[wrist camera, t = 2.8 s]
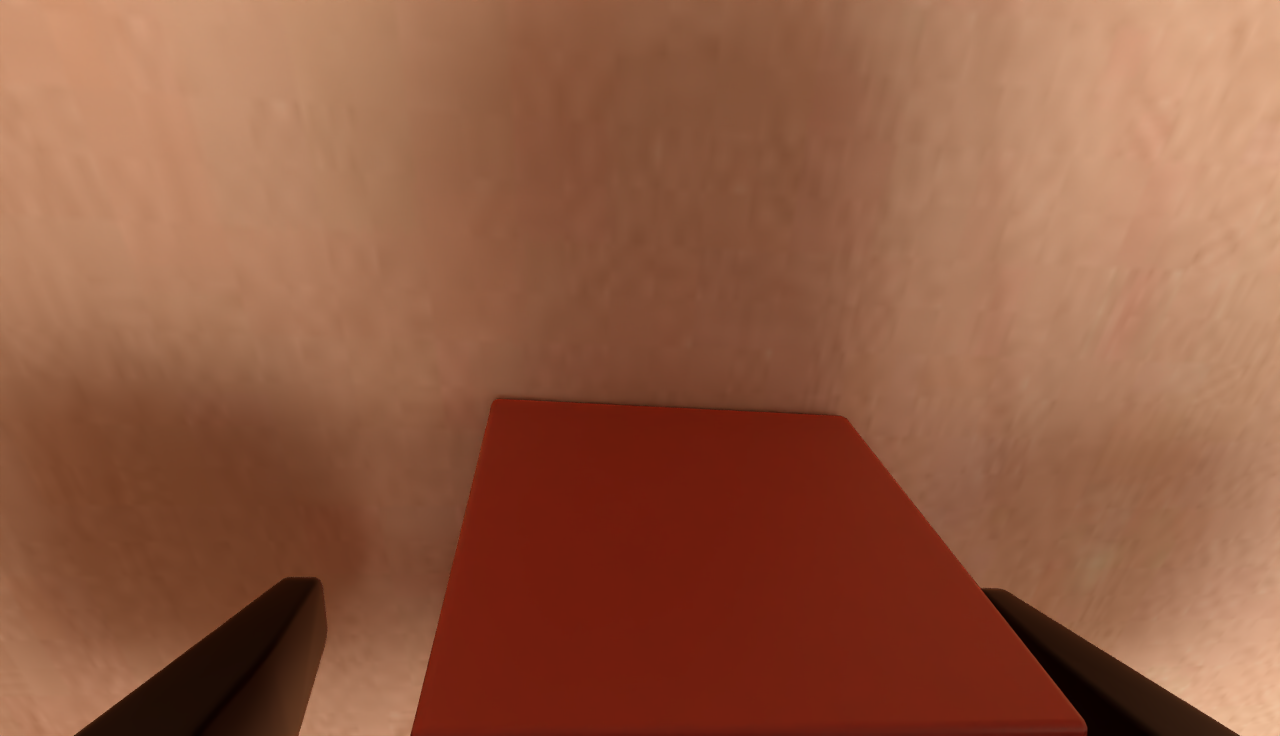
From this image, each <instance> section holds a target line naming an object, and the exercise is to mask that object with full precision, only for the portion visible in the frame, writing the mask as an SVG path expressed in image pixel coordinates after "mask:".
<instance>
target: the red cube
mask: <svg viewBox="0 0 1280 736" xmlns="http://www.w3.org/2000/svg"><path fill="white" fill-rule="evenodd" d="M411 736H1087V726H1086V723H1085V721H1084V719H1083V718H1082V717H1081V715H1080V714H1079V713H1078V712H1077V710H1076V709H1075V708H1074V706H1073V705H1072V704H1071V703H1070V701H1069V700H1068V699H1067V698H1066V696H1065V695H1064V694H1063V692H1062V691H1061V690H1060V689H1059V687H1058V686H1057V685H1056V684H1055V682H1054V681H1053V680H1052V679H1051V677H1050V676H1049V675H1048V673H1047V672H1046V671H1045V670H1044V668H1043V667H1042V666H1041V665H1040V663H1039V662H1038V661H1037V660H1036V658H1035V657H1034V656H1033V654H1032V653H1031V652H1030V651H1029V649H1028V648H1027V647H1026V646H1025V644H1024V643H1023V642H1022V640H1021V639H1020V638H1019V637H1018V635H1017V634H1016V633H1015V632H1014V630H1013V629H1012V628H1011V627H1010V625H1009V624H1008V623H1007V621H1006V620H1005V619H1004V618H1003V616H1002V615H1001V614H1000V613H999V611H998V610H997V609H996V607H995V606H994V605H993V604H992V602H991V601H990V600H989V599H988V597H987V596H986V595H985V594H984V592H983V591H982V590H981V588H980V587H979V586H978V585H977V583H976V582H975V581H974V580H973V578H972V577H971V576H970V575H969V573H968V572H967V571H966V569H965V568H964V567H963V566H962V564H961V563H960V562H959V561H958V559H957V558H956V557H955V555H954V554H953V553H952V552H951V550H950V549H949V548H948V547H947V545H946V544H945V543H944V542H943V540H942V539H941V538H940V536H939V535H938V534H937V533H936V531H935V530H934V529H933V528H932V526H931V525H930V524H929V522H928V521H927V520H926V519H925V517H924V516H923V515H922V514H921V512H920V511H919V510H918V509H917V507H916V506H915V505H914V503H913V502H912V501H911V500H910V498H909V497H908V496H907V495H906V493H905V492H904V491H903V490H902V488H901V487H900V486H899V484H898V483H897V482H896V481H895V479H894V478H893V477H892V476H891V474H890V473H889V472H888V470H887V469H886V468H885V467H884V465H883V464H882V463H881V462H880V460H879V459H878V458H877V457H876V455H875V454H874V453H873V451H872V450H871V449H870V448H869V446H868V445H867V444H866V443H865V441H864V440H863V439H862V438H861V436H860V435H859V434H858V432H857V431H856V430H855V429H854V427H853V426H852V425H851V424H850V422H849V421H848V420H847V418H845V417H843V416H834V415H814V414H794V413H774V412H753V411H733V410H713V409H693V408H673V407H653V406H633V405H613V404H593V403H573V402H553V401H533V400H513V399H496V400H494V401H493V403H492V405H491V408H490V412H489V416H488V420H487V425H486V429H485V433H484V437H483V441H482V445H481V449H480V453H479V457H478V461H477V465H476V470H475V474H474V478H473V482H472V486H471V490H470V494H469V498H468V502H467V506H466V510H465V515H464V519H463V523H462V527H461V531H460V535H459V539H458V543H457V547H456V551H455V555H454V560H453V564H452V568H451V572H450V576H449V580H448V584H447V588H446V592H445V596H444V600H443V605H442V609H441V613H440V617H439V621H438V625H437V629H436V633H435V637H434V641H433V645H432V650H431V654H430V658H429V662H428V666H427V670H426V674H425V678H424V682H423V686H422V691H421V695H420V699H419V703H418V707H417V711H416V715H415V719H414V723H413V727H412V731H411Z"/></svg>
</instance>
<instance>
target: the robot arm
mask: <svg viewBox="0 0 1280 736" xmlns="http://www.w3.org/2000/svg"><path fill="white" fill-rule="evenodd" d="M981 590H982V591H983V592H984V594H985V595H986V596H987V597H988V599H989V600H990V601H991V602H992V604H993V605H994V606H995V607H996V609H997V610H998V611H999V613H1000V614H1001V615H1002V616H1003V618H1004V619H1005V620H1006V621H1007V623H1008V624H1009V625H1010V627H1011V628H1012V629H1013V630H1014V632H1015V633H1016V634H1017V635H1018V637H1019V638H1020V639H1021V640H1022V642H1023V643H1024V644H1025V646H1026V647H1027V648H1028V649H1029V651H1030V652H1031V653H1032V654H1033V656H1034V657H1035V658H1036V660H1037V661H1038V662H1039V663H1040V665H1041V666H1042V667H1043V668H1044V670H1045V671H1046V672H1047V673H1048V675H1049V676H1050V677H1051V679H1052V680H1053V681H1054V682H1055V684H1056V685H1057V686H1058V687H1059V689H1060V690H1061V691H1062V692H1063V694H1064V695H1065V696H1066V698H1067V699H1068V700H1069V701H1070V703H1071V704H1072V705H1073V706H1074V708H1075V709H1076V710H1077V712H1078V713H1079V714H1080V715H1081V717H1082V718H1083V719H1084V721H1085V723H1086V726H1087V736H1240V735H1238V734H1237V733H1235V732H1233V731H1232V730H1230V729H1229V728H1227V727H1225V726H1224V725H1222V724H1220V723H1219V722H1217V721H1216V720H1214V719H1212V718H1211V717H1209V716H1208V715H1206V714H1204V713H1203V712H1201V711H1199V710H1198V709H1196V708H1195V707H1193V706H1191V705H1190V704H1188V703H1187V702H1185V701H1183V700H1182V699H1180V698H1178V697H1177V696H1175V695H1174V694H1172V693H1170V692H1169V691H1167V690H1166V689H1164V688H1162V687H1161V686H1159V685H1158V684H1156V683H1154V682H1153V681H1151V680H1149V679H1148V678H1146V677H1145V676H1143V675H1141V674H1140V673H1138V672H1137V671H1135V670H1133V669H1132V668H1130V667H1128V666H1127V665H1125V664H1124V663H1122V662H1120V661H1119V660H1117V659H1116V658H1114V657H1112V656H1111V655H1109V654H1108V653H1106V652H1104V651H1103V650H1101V649H1099V648H1098V647H1096V646H1095V645H1093V644H1091V643H1090V642H1088V641H1087V640H1085V639H1083V638H1082V637H1080V636H1079V635H1077V634H1075V633H1074V632H1072V631H1070V630H1069V629H1067V628H1066V627H1064V626H1062V625H1061V624H1059V623H1058V622H1056V621H1054V620H1053V619H1051V618H1049V617H1048V616H1046V615H1045V614H1043V613H1041V612H1040V611H1038V610H1037V609H1035V608H1033V607H1032V606H1030V605H1029V604H1027V603H1025V602H1024V601H1022V600H1020V599H1019V598H1017V597H1016V596H1014V595H1012V594H1011V593H1009V592H1007V591H1006V590H1003V589H998V588H981ZM326 638H327V617H326V608H325V600H324V591H323V585H322V583H321V580H319V579H318V578H316V577H287V578H285V579H283V580H281V581H280V582H278V583H277V584H276V585H274V586H273V587H272V588H270V589H269V590H268V591H266V592H265V593H264V594H262V595H261V596H260V597H258V598H257V599H256V600H254V601H253V602H252V603H250V604H249V605H248V606H246V607H245V608H244V609H242V610H241V611H240V612H238V613H237V614H236V615H234V616H233V617H232V618H230V619H229V620H228V621H226V622H225V623H223V624H222V625H221V626H219V627H218V628H217V629H215V630H214V631H213V632H211V633H210V634H209V635H207V636H206V637H205V638H203V639H202V640H201V641H199V642H198V643H197V644H195V645H194V646H193V647H191V648H190V649H189V650H187V651H186V652H185V653H183V654H182V655H181V656H179V657H178V658H177V659H175V660H174V661H173V662H171V663H170V664H169V665H167V666H166V667H165V668H163V669H162V670H161V671H159V672H158V673H157V674H155V675H154V676H153V677H151V678H150V679H149V680H147V681H146V682H145V683H143V684H142V685H141V686H139V687H138V688H137V689H135V690H134V691H133V692H131V693H130V694H129V695H127V696H126V697H125V698H123V699H122V700H121V701H119V702H118V703H117V704H115V705H114V706H113V707H111V708H110V709H109V710H107V711H106V712H105V713H103V714H102V715H101V716H99V717H98V718H97V719H95V720H94V721H93V722H91V723H90V724H89V725H87V726H86V727H85V728H83V729H82V730H81V731H79V732H78V733H77V734H75V735H74V736H298V735H299V732H300V728H301V725H302V722H303V718H304V715H305V711H306V708H307V705H308V701H309V698H310V694H311V691H312V688H313V684H314V681H315V677H316V674H317V671H318V667H319V664H320V660H321V657H322V654H323V650H324V647H325V643H326Z"/></svg>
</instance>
